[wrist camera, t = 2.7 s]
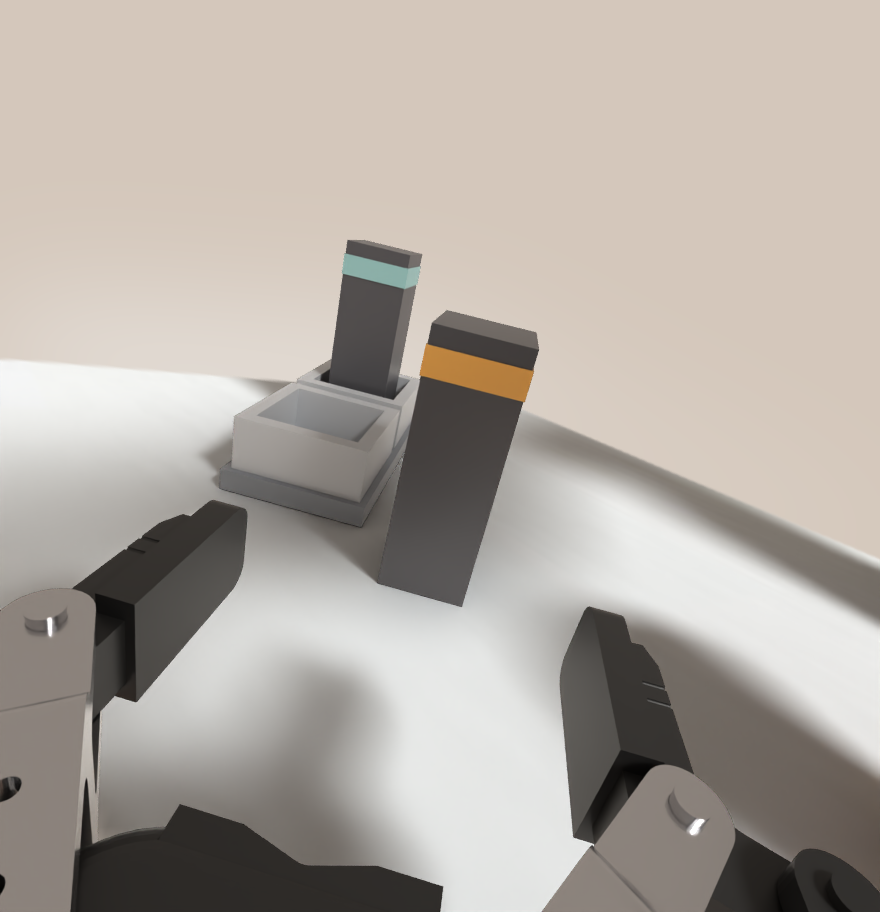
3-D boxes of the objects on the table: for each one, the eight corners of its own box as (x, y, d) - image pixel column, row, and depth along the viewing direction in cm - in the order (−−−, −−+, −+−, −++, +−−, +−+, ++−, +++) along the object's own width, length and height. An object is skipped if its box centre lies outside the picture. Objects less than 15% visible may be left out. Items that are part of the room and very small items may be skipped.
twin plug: (391, 416, 40) (423, 254, 35) (378, 434, 36) (410, 255, 31) (341, 403, 40) (365, 240, 35) (322, 419, 36) (346, 239, 31)
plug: (471, 557, 27) (537, 332, 22) (462, 607, 23) (540, 350, 18) (396, 536, 27) (445, 309, 22) (376, 583, 23) (430, 322, 19)
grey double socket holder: (417, 428, 42) (428, 380, 40) (361, 527, 27) (373, 457, 26) (324, 404, 42) (331, 355, 41) (219, 488, 28) (222, 416, 26)
